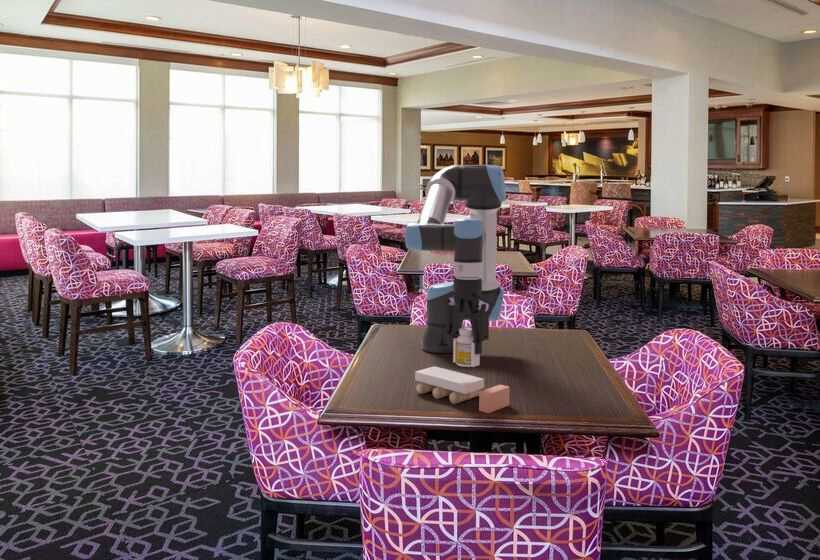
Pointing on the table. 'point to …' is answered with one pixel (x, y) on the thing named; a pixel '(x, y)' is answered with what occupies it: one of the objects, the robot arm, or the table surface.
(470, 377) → the slab
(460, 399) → the roller bed
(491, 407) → the block
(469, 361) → the supplement bottle
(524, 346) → the table surface
